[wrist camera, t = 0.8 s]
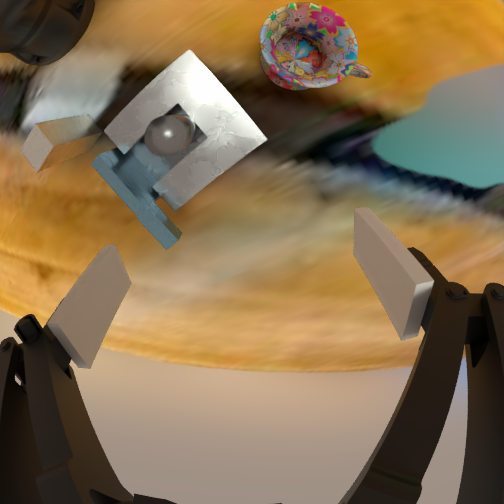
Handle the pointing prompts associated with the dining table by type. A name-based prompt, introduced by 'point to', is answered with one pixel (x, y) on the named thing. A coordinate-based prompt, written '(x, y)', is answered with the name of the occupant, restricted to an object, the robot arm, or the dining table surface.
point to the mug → (308, 47)
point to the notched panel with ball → (175, 143)
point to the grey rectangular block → (59, 140)
